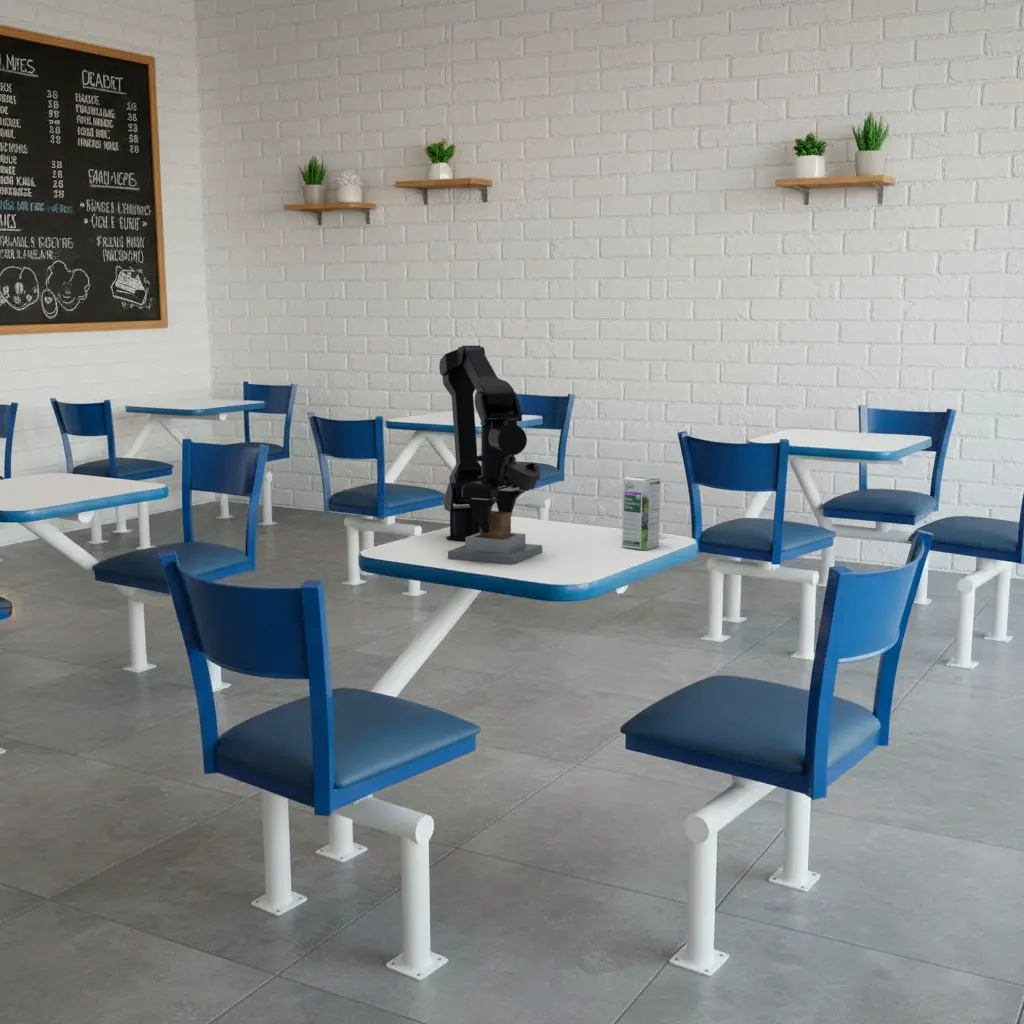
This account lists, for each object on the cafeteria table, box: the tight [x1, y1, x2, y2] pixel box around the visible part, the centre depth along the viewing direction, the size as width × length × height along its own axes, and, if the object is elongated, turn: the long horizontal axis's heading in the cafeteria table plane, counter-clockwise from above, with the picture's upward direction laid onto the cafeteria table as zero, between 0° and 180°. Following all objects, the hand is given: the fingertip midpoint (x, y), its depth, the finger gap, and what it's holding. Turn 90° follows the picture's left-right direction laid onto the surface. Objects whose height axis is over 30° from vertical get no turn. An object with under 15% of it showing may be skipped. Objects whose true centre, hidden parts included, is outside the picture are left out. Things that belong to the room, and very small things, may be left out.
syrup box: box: [621, 475, 661, 551], centre depth 249 cm, size 6×6×14 cm
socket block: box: [447, 532, 543, 565], centre depth 240 cm, size 14×14×4 cm
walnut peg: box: [480, 510, 512, 539], centre depth 240 cm, size 4×4×7 cm
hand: (495, 529), depth 240 cm, fingers open, 9 cm apart
